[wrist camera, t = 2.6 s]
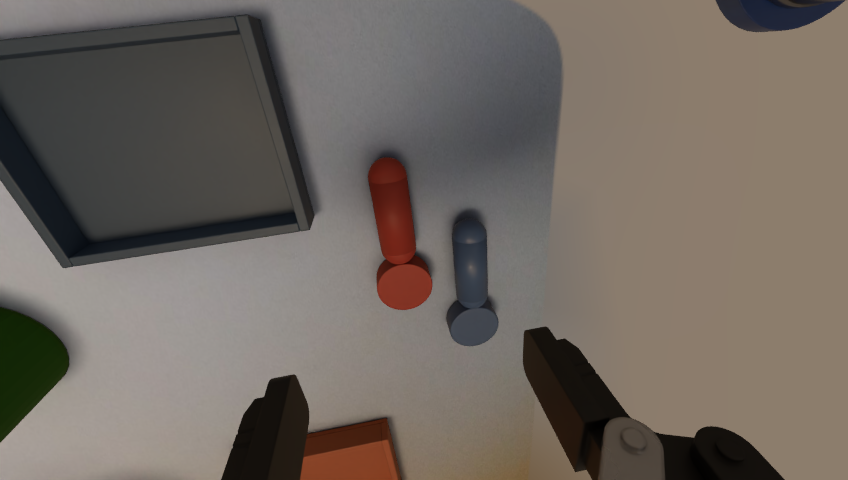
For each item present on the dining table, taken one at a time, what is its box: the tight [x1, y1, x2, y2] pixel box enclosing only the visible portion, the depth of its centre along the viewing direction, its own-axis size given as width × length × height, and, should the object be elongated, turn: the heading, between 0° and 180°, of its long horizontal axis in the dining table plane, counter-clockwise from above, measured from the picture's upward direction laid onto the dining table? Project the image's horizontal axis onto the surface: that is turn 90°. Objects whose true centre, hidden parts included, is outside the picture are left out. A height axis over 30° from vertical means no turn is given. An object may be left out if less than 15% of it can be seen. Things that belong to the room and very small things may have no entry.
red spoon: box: [368, 157, 432, 310], centre depth 24 cm, size 11×4×2 cm, turn 6°
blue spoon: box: [446, 218, 498, 346], centre depth 26 cm, size 11×4×2 cm, turn 6°
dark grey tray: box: [0, 15, 314, 268], centre depth 19 cm, size 14×11×2 cm
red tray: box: [300, 418, 402, 480], centre depth 35 cm, size 14×11×2 cm
